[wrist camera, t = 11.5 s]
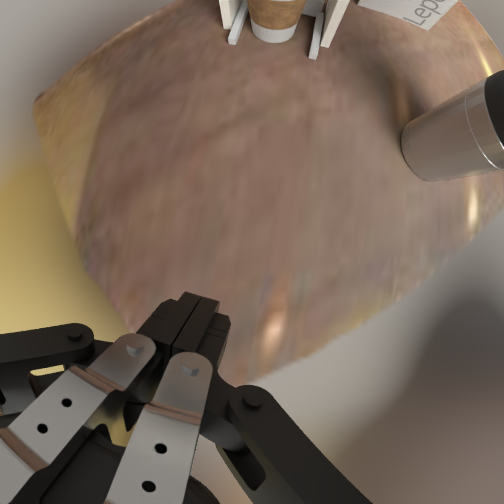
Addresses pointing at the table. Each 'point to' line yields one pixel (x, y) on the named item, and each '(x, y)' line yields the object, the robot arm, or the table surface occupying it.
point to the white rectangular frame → (237, 9)
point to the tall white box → (411, 10)
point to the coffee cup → (275, 18)
